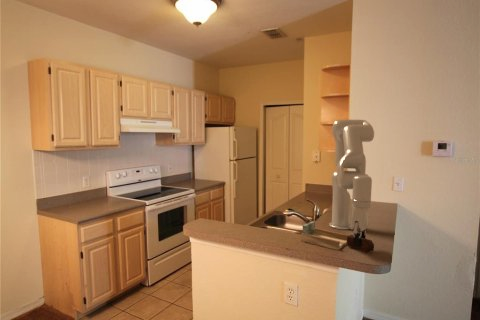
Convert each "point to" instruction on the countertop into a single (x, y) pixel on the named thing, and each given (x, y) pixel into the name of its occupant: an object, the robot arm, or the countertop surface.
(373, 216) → the countertop surface
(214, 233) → the countertop surface
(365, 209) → the robot arm
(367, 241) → the brick
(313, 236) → the rail board
